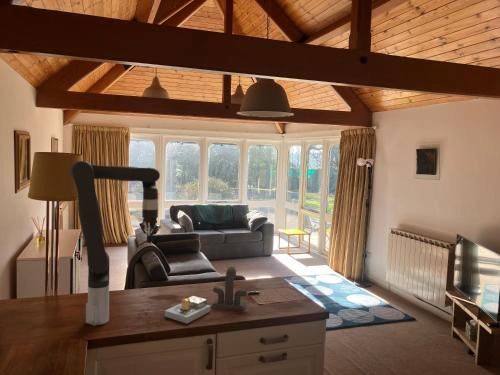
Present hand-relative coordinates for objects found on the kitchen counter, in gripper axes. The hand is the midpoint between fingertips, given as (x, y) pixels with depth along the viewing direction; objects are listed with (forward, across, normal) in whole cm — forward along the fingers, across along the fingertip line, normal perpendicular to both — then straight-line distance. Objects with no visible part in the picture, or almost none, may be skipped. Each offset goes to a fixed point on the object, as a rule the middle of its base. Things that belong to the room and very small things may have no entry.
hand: (149, 242), depth 195 cm
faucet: (+35, -27, -33) cm, 55 cm away
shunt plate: (+32, -18, -15) cm, 39 cm away
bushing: (+35, -18, -7) cm, 40 cm away
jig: (+35, -18, -9) cm, 40 cm away
